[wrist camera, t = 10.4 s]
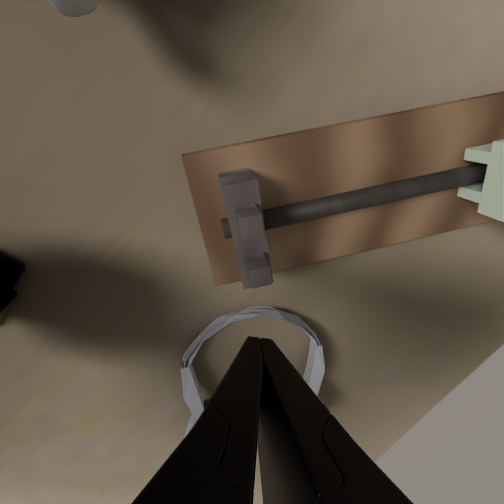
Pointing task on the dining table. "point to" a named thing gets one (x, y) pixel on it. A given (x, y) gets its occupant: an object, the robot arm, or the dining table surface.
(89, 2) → the teacup
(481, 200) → the pale green box
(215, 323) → the headphones
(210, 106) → the dining table surface
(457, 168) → the cord board
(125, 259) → the dining table surface
